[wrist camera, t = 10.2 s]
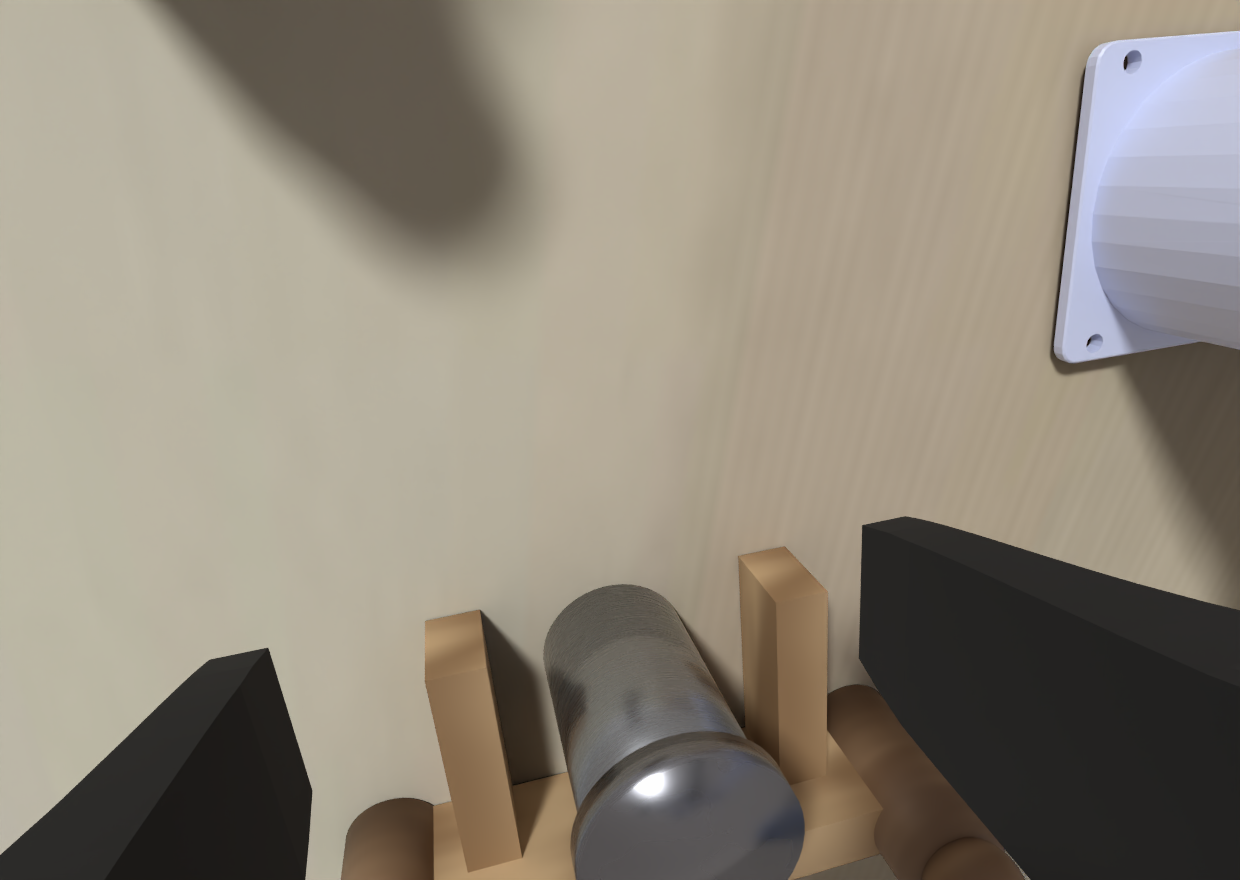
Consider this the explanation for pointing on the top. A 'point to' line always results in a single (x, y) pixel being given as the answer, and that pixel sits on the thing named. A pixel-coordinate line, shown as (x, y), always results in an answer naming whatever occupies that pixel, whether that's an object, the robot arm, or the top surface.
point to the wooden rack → (774, 719)
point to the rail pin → (660, 752)
